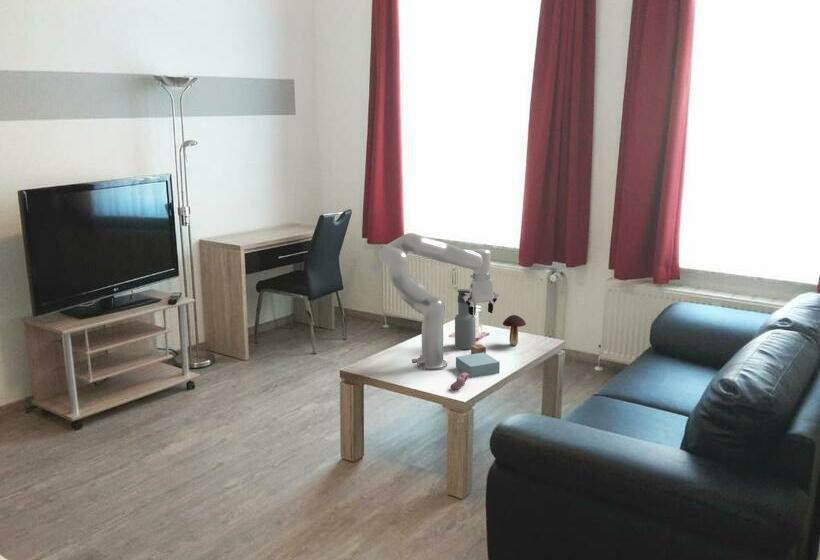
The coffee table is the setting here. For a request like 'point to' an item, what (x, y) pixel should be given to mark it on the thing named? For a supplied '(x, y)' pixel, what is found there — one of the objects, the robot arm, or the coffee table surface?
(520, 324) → the decorative mushroom
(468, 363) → the block
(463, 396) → the coffee table surface
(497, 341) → the coffee table surface
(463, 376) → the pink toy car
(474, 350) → the walnut cube
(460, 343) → the water bottle
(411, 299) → the robot arm
